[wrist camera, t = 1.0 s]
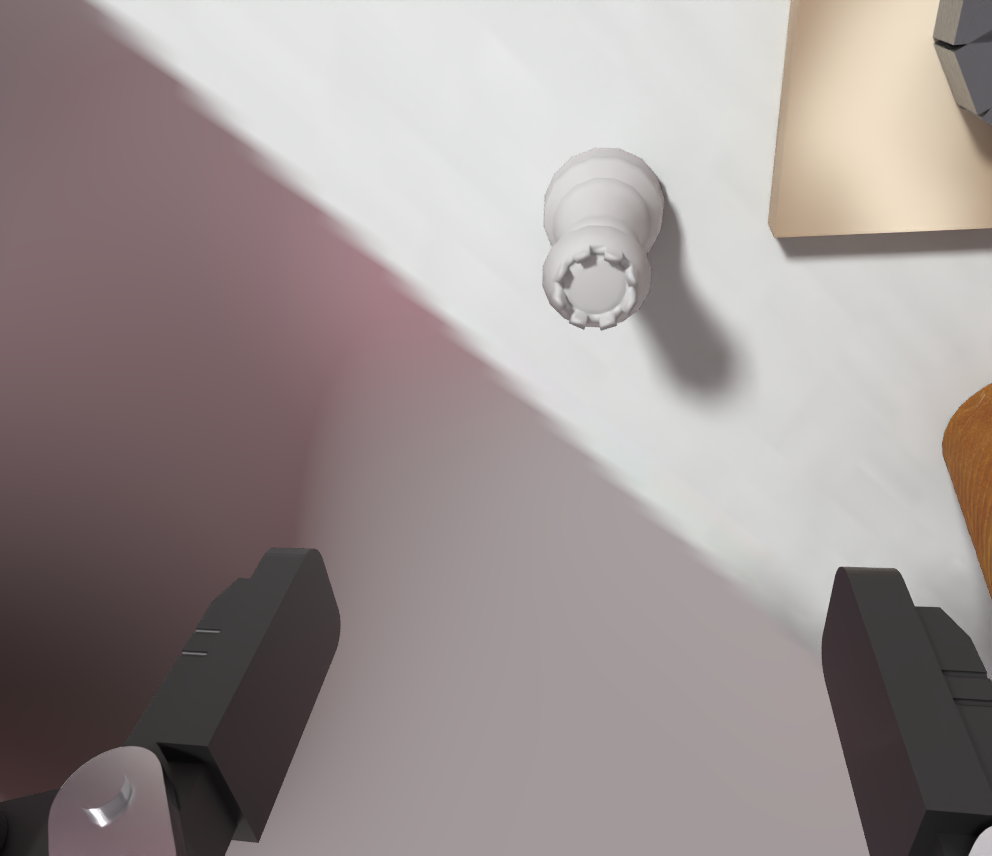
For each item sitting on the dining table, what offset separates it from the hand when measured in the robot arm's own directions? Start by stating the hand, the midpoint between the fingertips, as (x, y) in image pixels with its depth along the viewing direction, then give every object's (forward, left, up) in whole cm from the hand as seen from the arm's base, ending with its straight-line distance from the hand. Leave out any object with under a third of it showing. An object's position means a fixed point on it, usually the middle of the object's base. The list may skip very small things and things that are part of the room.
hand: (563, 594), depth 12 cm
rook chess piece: (0, 0, -20) cm, 20 cm away
